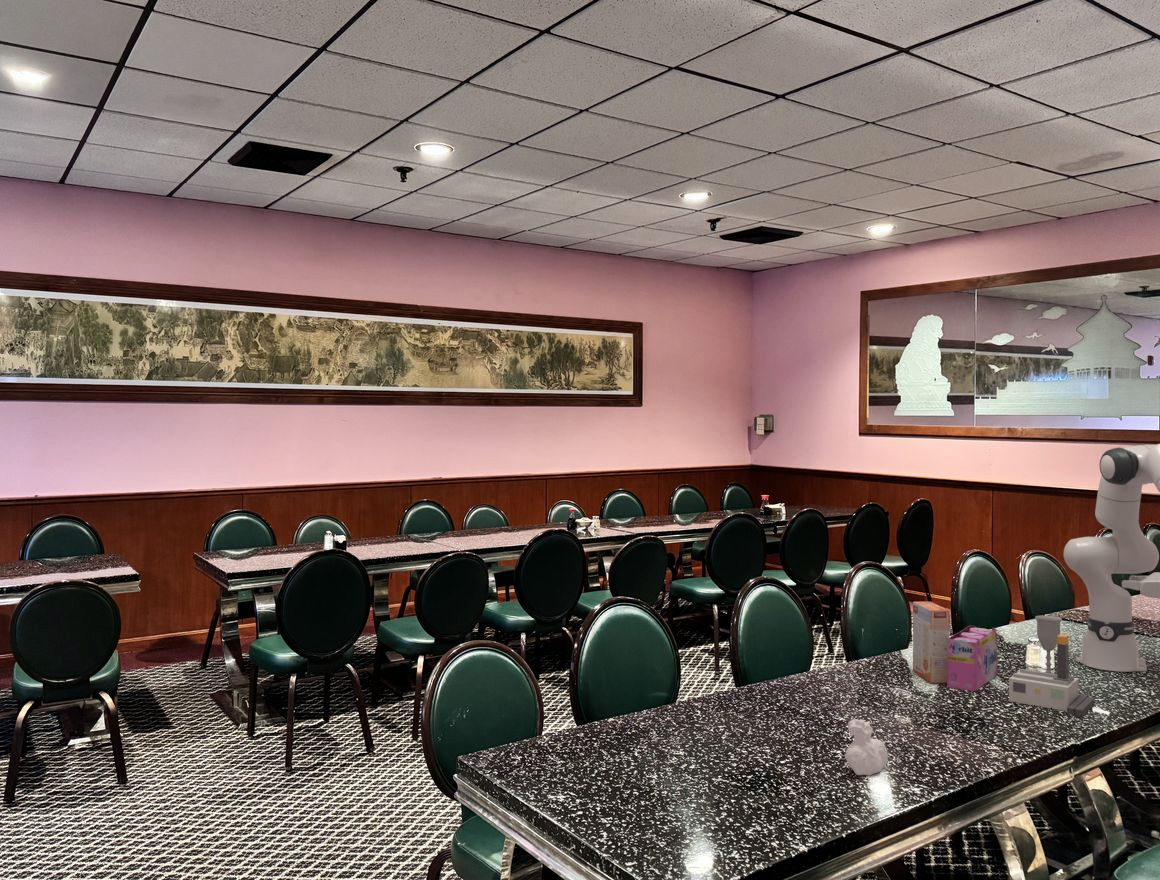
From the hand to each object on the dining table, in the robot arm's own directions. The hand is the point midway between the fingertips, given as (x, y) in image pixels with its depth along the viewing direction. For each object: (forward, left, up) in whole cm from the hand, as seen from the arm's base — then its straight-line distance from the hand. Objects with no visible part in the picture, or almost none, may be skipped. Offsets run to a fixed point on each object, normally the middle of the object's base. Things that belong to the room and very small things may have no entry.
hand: (1125, 581), depth 236 cm
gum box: (0, -38, -32) cm, 50 cm away
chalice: (-12, -21, -32) cm, 40 cm away
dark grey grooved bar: (+10, -8, -32) cm, 34 cm away
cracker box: (+5, -48, -32) cm, 58 cm away
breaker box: (+10, -17, -32) cm, 38 cm away
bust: (+87, -33, -32) cm, 99 cm away
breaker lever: (+10, -12, -26) cm, 30 cm away
